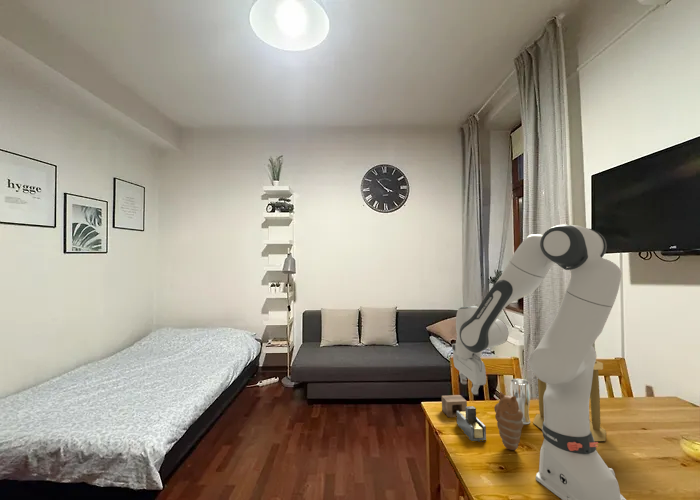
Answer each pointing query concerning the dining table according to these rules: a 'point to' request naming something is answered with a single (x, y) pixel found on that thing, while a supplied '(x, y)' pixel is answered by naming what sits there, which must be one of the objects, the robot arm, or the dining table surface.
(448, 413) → the socket
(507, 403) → the cat ice cream
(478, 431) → the tan grey t-shaped block
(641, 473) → the dining table surface
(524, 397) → the silver cup
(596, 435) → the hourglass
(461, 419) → the grey track with slider
